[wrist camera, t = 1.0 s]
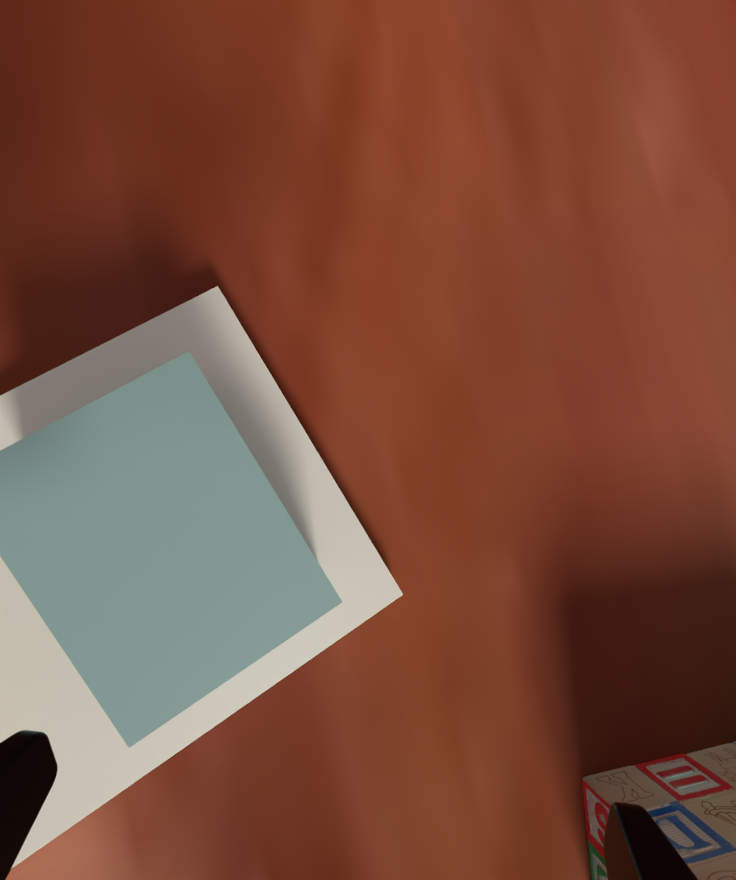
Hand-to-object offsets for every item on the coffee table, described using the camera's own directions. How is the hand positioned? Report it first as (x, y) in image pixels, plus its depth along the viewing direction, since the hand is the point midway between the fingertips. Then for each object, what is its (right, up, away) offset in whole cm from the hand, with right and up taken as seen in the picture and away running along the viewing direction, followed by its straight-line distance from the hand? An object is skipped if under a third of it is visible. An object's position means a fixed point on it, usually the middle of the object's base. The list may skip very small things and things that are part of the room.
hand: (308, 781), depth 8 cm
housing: (-6, +2, +12) cm, 14 cm away
